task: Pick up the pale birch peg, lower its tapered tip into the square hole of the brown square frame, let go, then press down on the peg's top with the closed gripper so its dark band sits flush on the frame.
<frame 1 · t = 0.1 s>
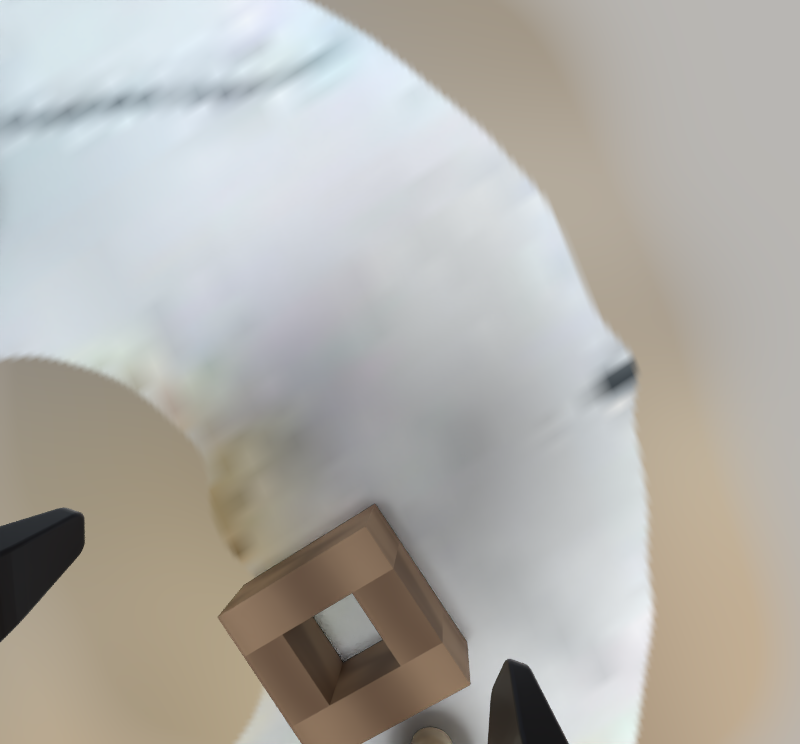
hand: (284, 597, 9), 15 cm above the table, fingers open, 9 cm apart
brown square frame: (353, 613, 25), on the table
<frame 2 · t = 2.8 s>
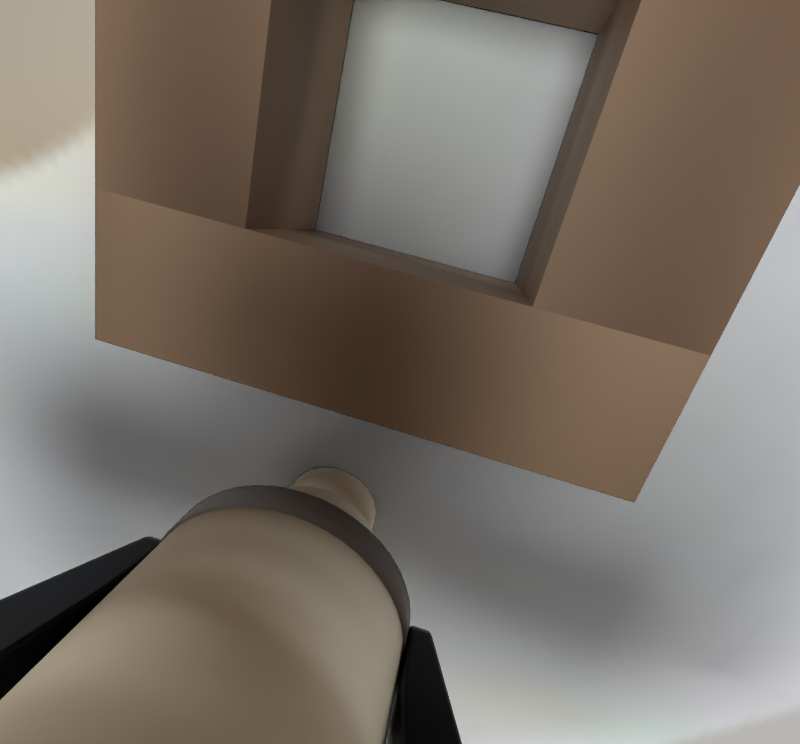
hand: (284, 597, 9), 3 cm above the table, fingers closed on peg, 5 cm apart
peg: (331, 507, 11), on the table, touching gripper
brown square frame: (441, 142, 8), on the table
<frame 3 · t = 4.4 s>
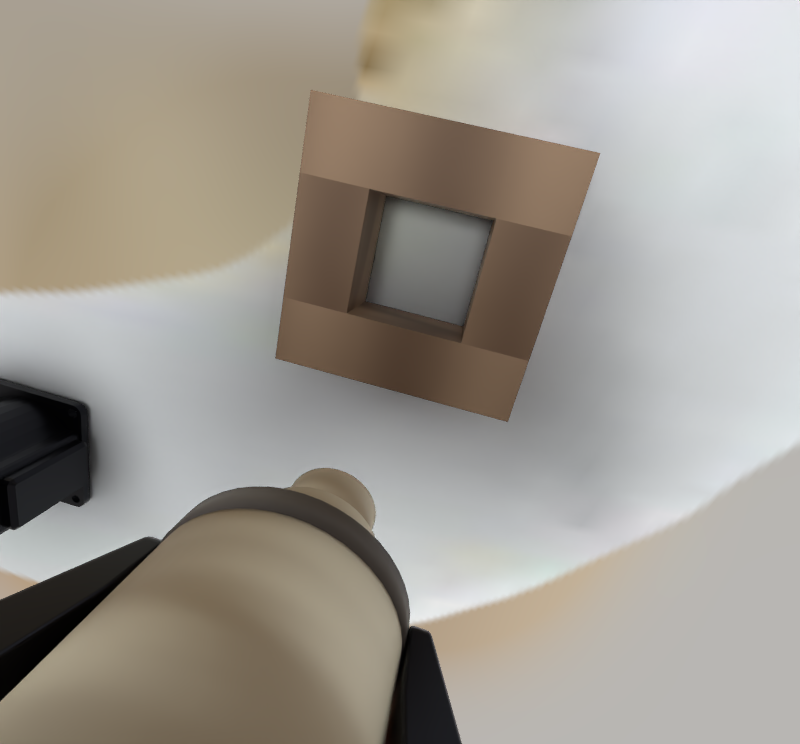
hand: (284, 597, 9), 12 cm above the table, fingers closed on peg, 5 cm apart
peg: (331, 508, 12), point 9 cm above the table, touching gripper
brown square frame: (425, 263, 18), on the table
when the fingers open (5 cm above the table, at t = 6.4 s): peg drops 2 cm, resting on brown square frame.
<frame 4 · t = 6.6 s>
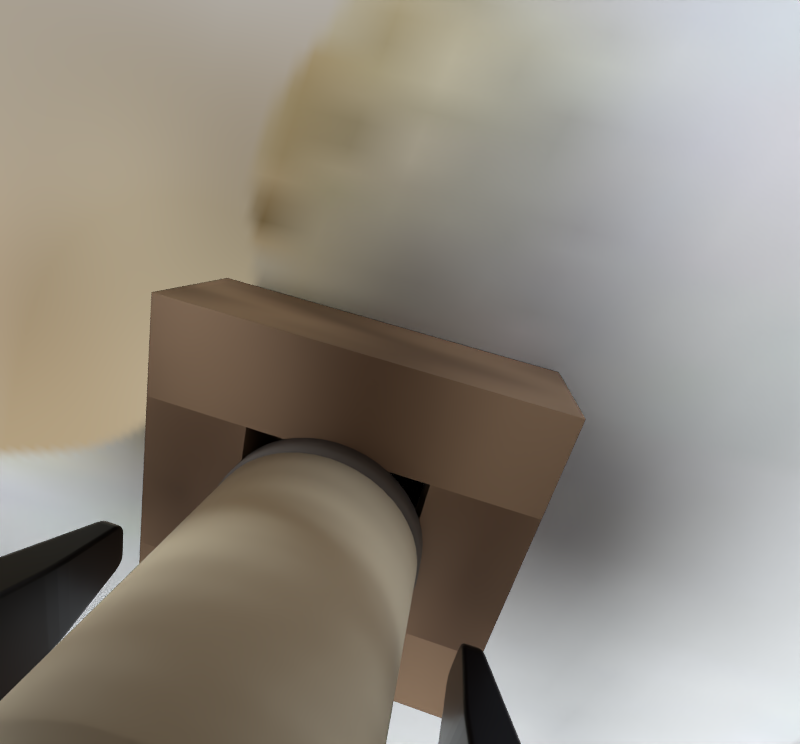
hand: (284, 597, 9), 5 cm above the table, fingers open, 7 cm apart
peg: (351, 469, 13), resting on brown square frame
brown square frame: (352, 468, 13), on the table
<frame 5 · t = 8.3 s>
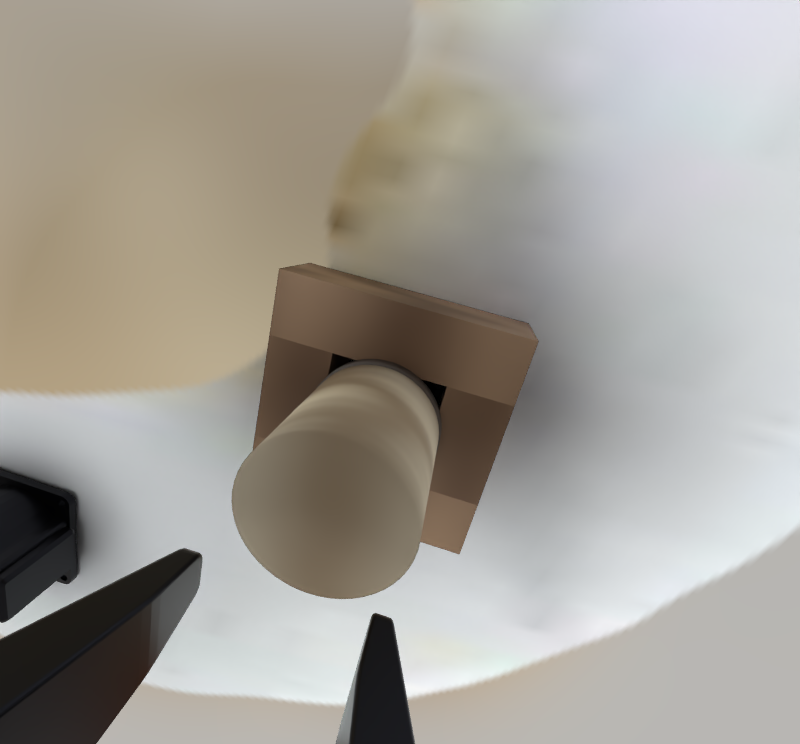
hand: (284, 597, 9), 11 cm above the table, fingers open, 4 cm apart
peg: (389, 394, 19), resting on brown square frame
brown square frame: (390, 394, 19), on the table
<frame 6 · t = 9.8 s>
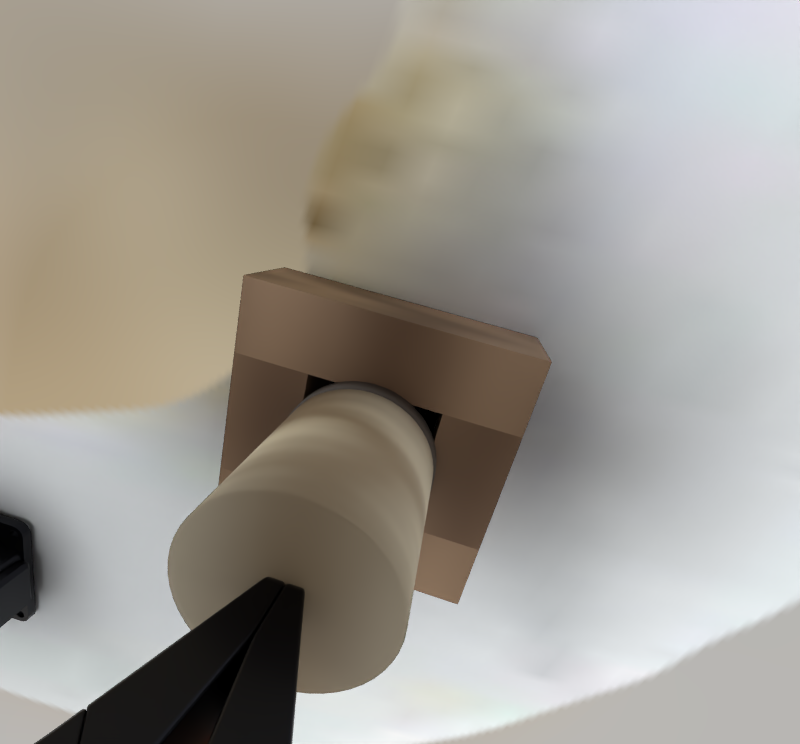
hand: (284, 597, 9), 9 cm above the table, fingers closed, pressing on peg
peg: (378, 417, 17), resting on brown square frame, touching gripper
brown square frame: (378, 417, 17), on the table
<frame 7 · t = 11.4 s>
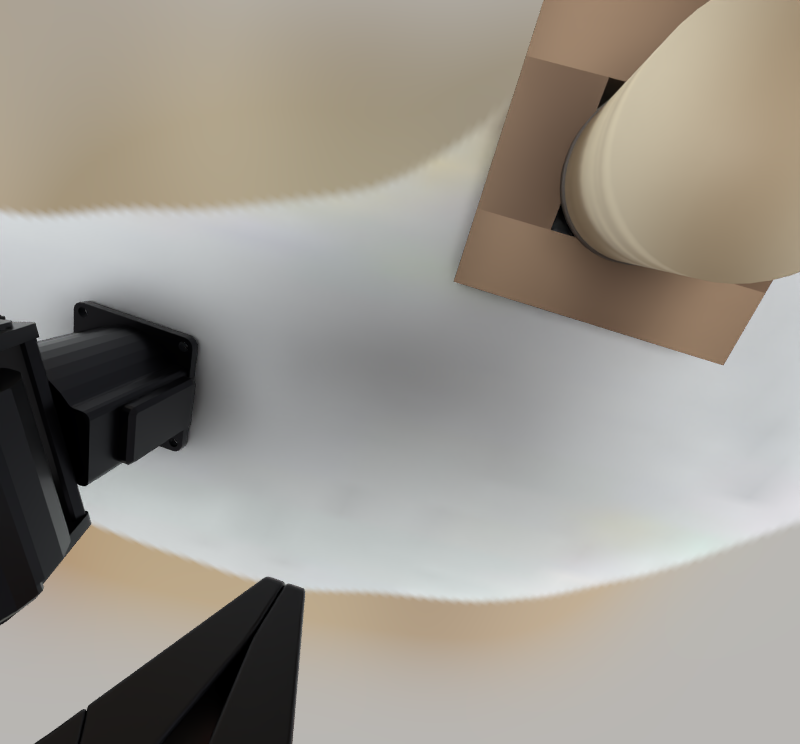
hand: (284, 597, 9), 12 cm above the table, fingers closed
peg: (619, 187, 16), resting on brown square frame
brown square frame: (620, 186, 16), on the table
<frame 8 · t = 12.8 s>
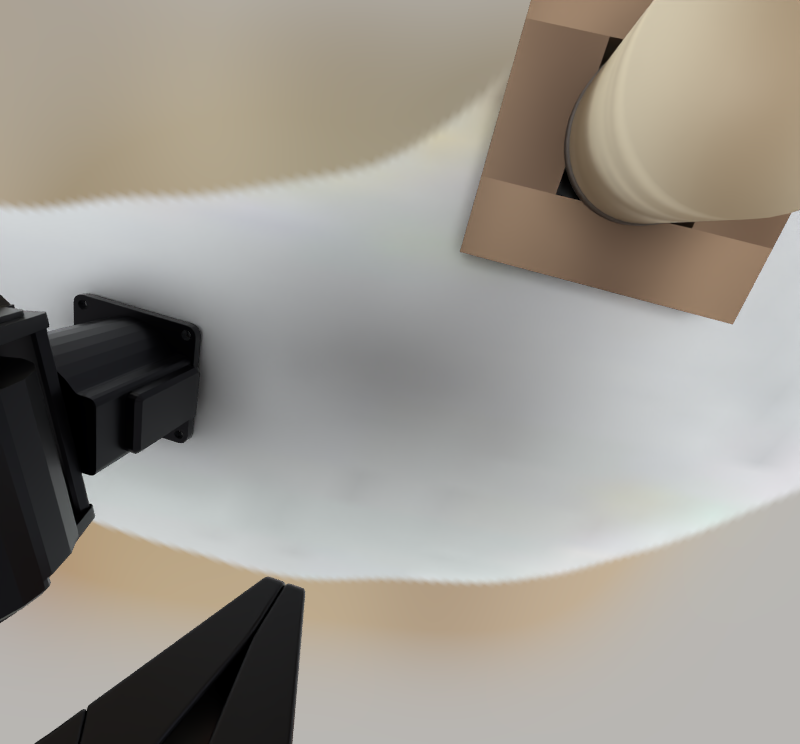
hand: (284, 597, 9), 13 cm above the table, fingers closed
peg: (620, 154, 16), resting on brown square frame
brown square frame: (621, 153, 16), on the table
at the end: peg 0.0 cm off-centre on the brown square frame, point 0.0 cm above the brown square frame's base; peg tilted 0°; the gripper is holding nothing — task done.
